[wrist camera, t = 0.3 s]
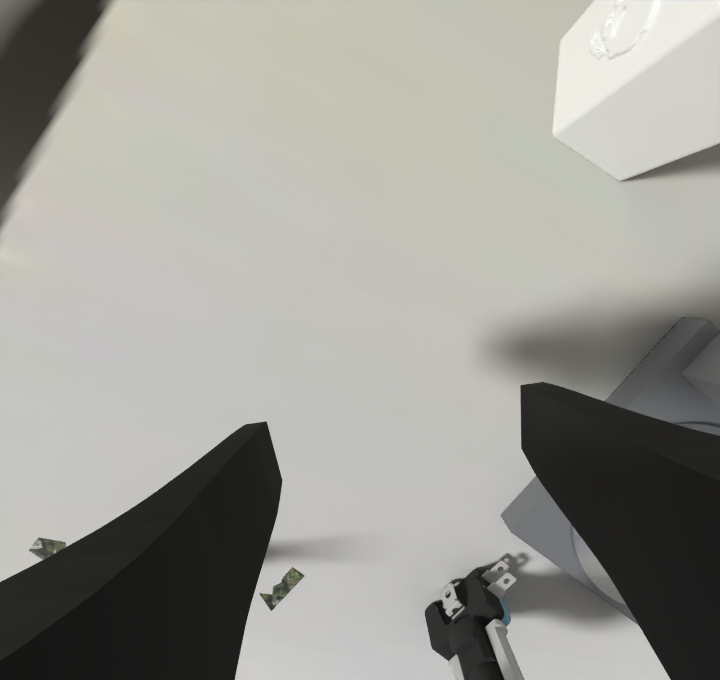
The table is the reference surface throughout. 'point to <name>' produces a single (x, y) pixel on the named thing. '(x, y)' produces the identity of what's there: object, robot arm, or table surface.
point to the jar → (639, 83)
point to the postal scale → (645, 396)
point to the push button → (475, 627)
